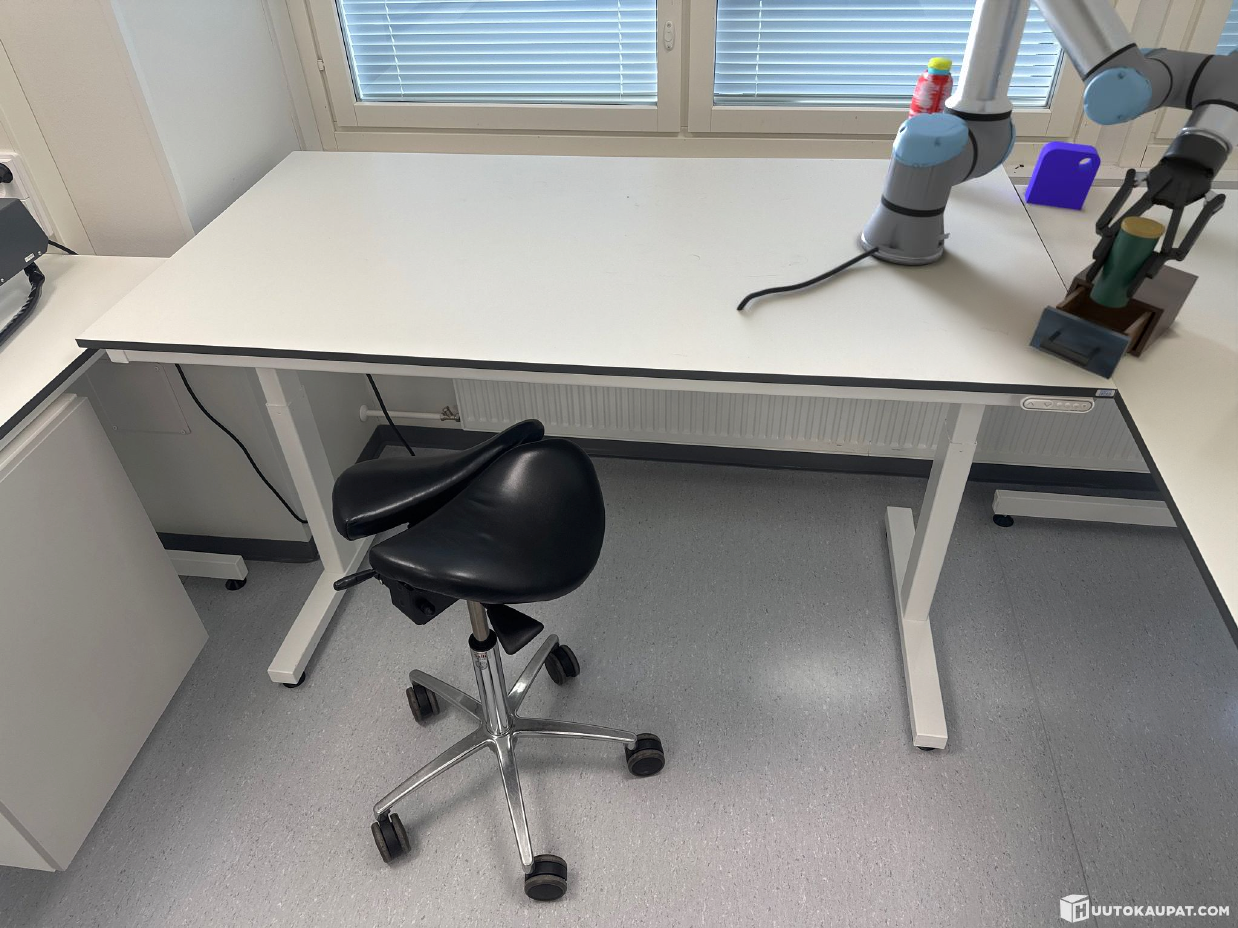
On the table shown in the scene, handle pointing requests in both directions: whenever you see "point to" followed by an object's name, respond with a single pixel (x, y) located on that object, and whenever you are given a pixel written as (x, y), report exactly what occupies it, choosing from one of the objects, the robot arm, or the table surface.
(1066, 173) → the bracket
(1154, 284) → the cabinet
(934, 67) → the water bottle
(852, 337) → the table surface
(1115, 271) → the tea tin
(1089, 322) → the drawer
